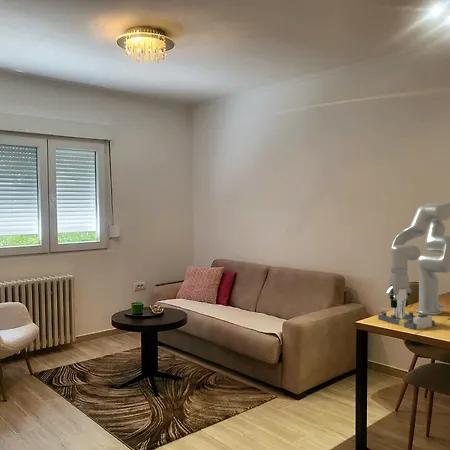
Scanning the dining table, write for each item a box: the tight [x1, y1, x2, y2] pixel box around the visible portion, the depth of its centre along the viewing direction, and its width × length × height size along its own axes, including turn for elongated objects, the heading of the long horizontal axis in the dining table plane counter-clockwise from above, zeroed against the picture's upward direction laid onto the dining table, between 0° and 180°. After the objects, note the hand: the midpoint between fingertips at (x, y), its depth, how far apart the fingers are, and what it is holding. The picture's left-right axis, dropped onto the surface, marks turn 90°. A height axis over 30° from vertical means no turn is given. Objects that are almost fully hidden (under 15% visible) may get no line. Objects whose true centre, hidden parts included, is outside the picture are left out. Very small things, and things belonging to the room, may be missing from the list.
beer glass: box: [392, 289, 408, 320], centre depth 224 cm, size 7×7×15 cm
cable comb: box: [377, 311, 436, 331], centre depth 220 cm, size 14×22×6 cm, turn 26°
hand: (399, 306), depth 224 cm, fingers closed on beer glass, 6 cm apart
